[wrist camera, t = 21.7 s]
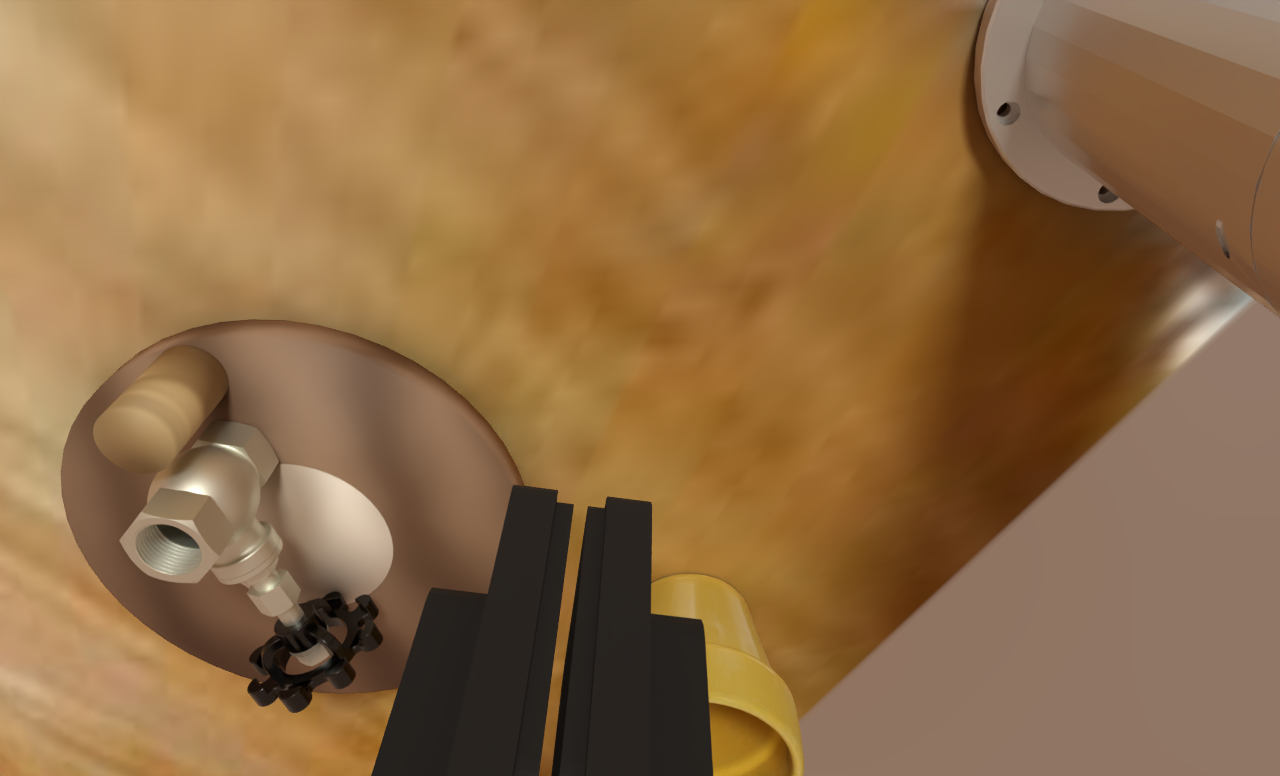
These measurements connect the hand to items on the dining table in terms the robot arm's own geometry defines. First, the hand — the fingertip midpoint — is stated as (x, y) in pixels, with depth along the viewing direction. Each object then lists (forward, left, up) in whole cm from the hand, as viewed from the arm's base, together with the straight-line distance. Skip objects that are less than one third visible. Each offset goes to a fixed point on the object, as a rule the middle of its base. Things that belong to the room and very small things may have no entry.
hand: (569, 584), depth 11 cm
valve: (+3, +25, -24) cm, 35 cm away
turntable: (+2, +26, -26) cm, 37 cm away
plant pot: (-18, +22, -27) cm, 39 cm away
